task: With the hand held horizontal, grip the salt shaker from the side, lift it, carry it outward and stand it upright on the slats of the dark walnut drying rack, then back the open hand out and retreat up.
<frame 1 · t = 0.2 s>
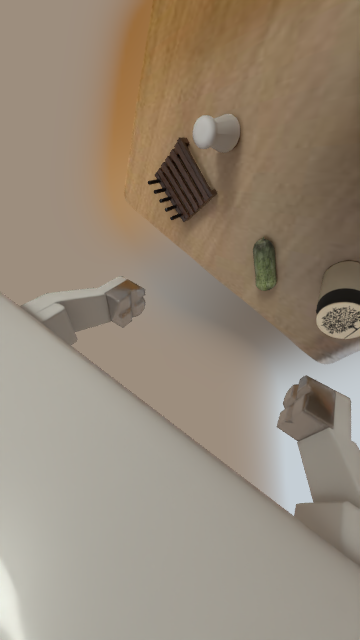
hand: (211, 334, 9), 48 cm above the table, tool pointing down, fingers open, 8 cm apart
salt shaker: (230, 134, 42), on the table
vegetable: (267, 261, 53), on the table
drying rack: (187, 183, 53), on the table
travel mug: (344, 277, 45), on the table
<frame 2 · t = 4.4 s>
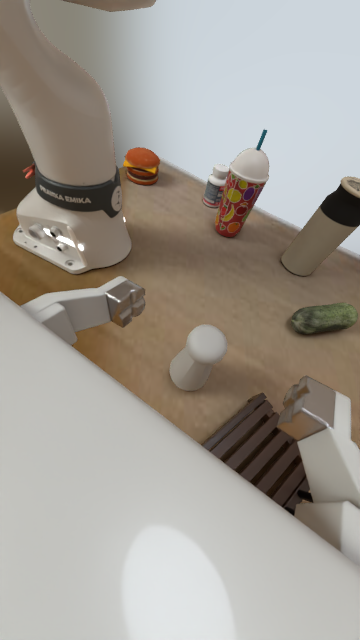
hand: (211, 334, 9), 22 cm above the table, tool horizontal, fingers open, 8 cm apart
salt shaker: (186, 375, 31), on the table
hamburger: (142, 177, 59), on the table
pill bottle: (211, 203, 58), on the table
vegetable: (312, 324, 41), on the table
drying rack: (245, 463, 26), on the table
smoothie: (225, 230, 52), on the table
travel mug: (295, 265, 50), on the table
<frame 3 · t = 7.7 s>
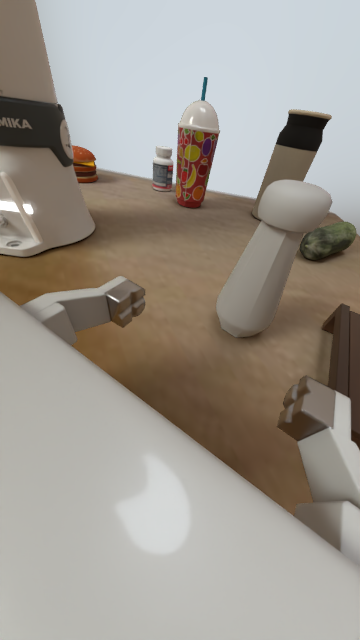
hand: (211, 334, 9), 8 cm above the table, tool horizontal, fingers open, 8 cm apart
salt shaker: (236, 324, 22), on the table
hamburger: (79, 179, 53), on the table
pill bottle: (162, 189, 56), on the table
vegetable: (318, 253, 38), on the table
smoothie: (188, 204, 49), on the table
travel mug: (267, 218, 49), on the table
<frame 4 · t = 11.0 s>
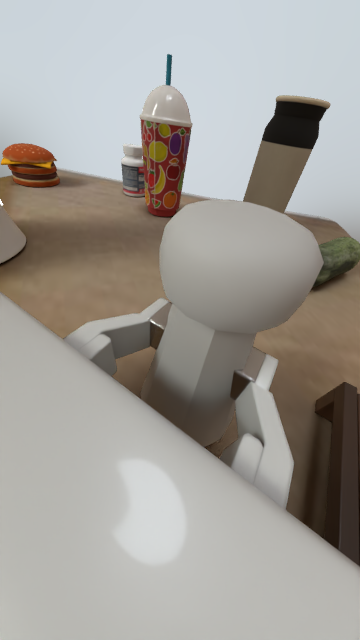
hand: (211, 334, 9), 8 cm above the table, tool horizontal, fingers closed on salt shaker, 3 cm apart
salt shaker: (182, 410, 14), on the table, touching gripper
hamburger: (38, 182, 46), on the table
pill bottle: (134, 194, 48), on the table
vegetable: (313, 276, 30), on the table
smoothie: (162, 213, 42), on the table
travel mug: (254, 229, 41), on the table
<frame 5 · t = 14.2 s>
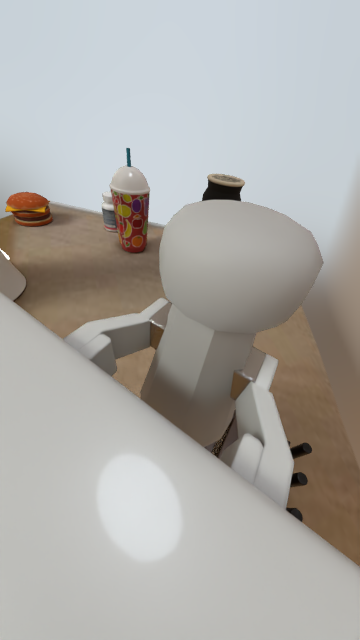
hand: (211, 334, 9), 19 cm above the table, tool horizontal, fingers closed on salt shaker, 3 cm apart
salt shaker: (182, 410, 14), point 11 cm above the table, touching gripper
hamburger: (35, 220, 57), on the table
pill bottle: (114, 229, 59), on the table
drying rack: (211, 477, 21), on the table
smoothie: (133, 248, 52), on the table
travel mug: (206, 261, 52), on the table
when the fingers open (10 cm above the table, at t = 17.7 s): salt shaker stays where it is, resting on drying rack.
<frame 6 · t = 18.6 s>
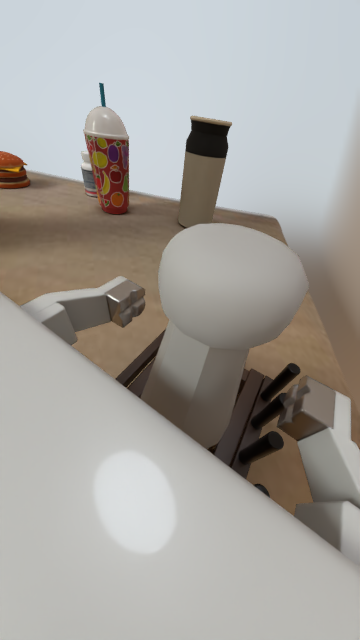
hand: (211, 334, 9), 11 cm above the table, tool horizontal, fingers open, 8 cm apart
salt shaker: (181, 414, 15), point 3 cm above the table, touching drying rack
hamburger: (10, 184, 53), on the table
pill bottle: (96, 195, 55), on the table
drying rack: (176, 423, 17), on the table
smoothie: (115, 210, 48), on the table
travel mug: (194, 224, 48), on the table
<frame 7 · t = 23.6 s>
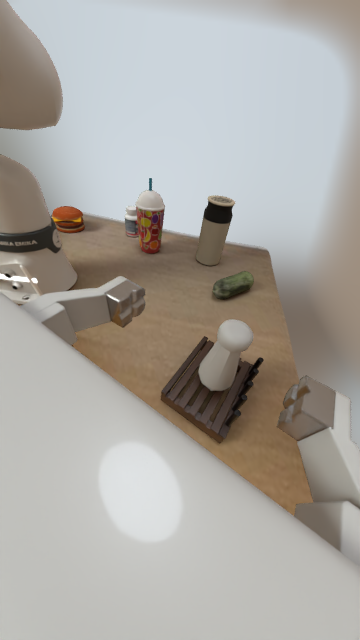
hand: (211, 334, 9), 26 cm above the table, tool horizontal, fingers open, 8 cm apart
salt shaker: (212, 380, 33), point 3 cm above the table, touching drying rack
hamburger: (71, 228, 71), on the table
pill bottle: (133, 234, 74), on the table
vegetable: (229, 292, 56), on the table
drying rack: (209, 386, 35), on the table
smoothie: (150, 250, 67), on the table
travel mug: (207, 260, 67), on the table
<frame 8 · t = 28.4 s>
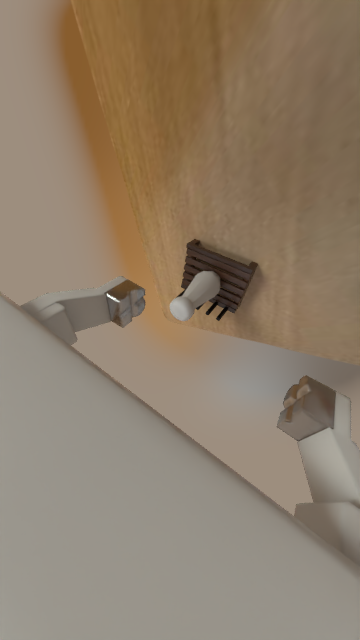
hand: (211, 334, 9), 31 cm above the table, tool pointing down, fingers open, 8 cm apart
salt shaker: (212, 279, 42), point 3 cm above the table, touching drying rack
drying rack: (217, 274, 44), on the table
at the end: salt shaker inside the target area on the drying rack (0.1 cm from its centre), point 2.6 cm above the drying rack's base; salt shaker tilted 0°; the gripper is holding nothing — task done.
